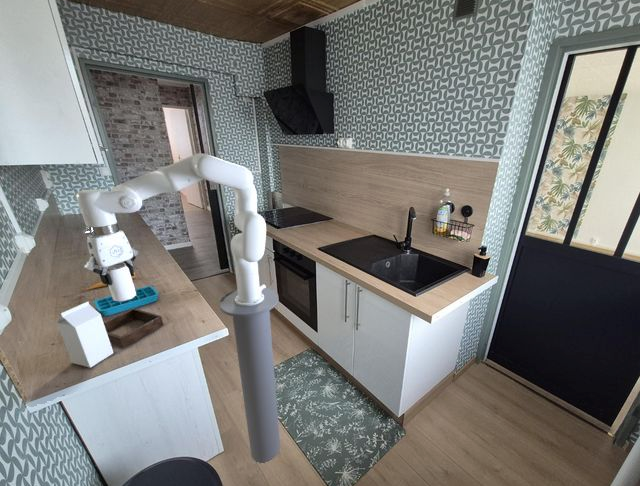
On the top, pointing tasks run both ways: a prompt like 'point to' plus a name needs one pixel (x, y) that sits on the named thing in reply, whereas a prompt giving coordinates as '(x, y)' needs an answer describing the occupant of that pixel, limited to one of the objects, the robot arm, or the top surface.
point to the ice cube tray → (112, 307)
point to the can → (121, 282)
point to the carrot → (103, 284)
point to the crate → (127, 339)
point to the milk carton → (84, 335)
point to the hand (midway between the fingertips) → (119, 279)
